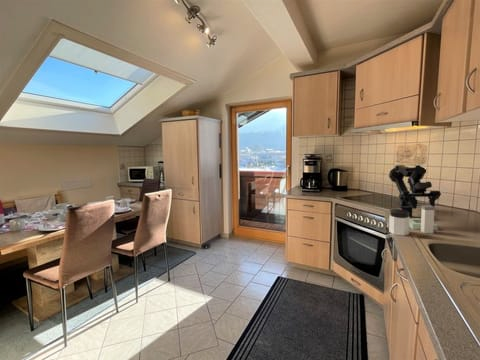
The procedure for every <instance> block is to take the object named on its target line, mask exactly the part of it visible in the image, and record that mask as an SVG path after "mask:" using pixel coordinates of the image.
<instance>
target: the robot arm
mask: <svg viewBox="0 0 480 360" xmlns="http://www.w3.org/2000/svg"><path fill="white" fill-rule="evenodd" d="M425 174H427V169H425V168H424V167H423V166H421V165H420V164H419V165H415V166H414V167H409V166H405V165H403V164H399V165H398V164H397V165H395V166H394V167H393V168H392V169H391V170H390V171H389V173H388V177H389V179H390V181H391V182H393V183H394V184H395V186H396V187H397V190H398V192H399V194H398V198H399V201H398V203H397V205H398V206H397V207H398V209H401V210H406V211H408V212H409V217H410V218H415V217H414V216H413V209H415V210H416V209H417V207H418V199H417V198H428V202H429V205H431V206H433V207H435V204H436V201H437V200H439V198H440V196H441V195H442V193H441V191H440V190H430V191H429V192H428V193H427V189H430V188H432V185H433V184H432V181H426V182H422V181H421V180H423V178H424V176H425ZM404 178H407V184H408V185H409V190H408V188H407V186H406V183H405V181H404Z"/></svg>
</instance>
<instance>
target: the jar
mask: <svg viewBox="0 0 480 360" xmlns="http://www.w3.org/2000/svg"><path fill="white" fill-rule="evenodd" d="M388 218H389V220H388V221H389V222H388V230H389V231H388V232H389V233H391V234H392V235H396V236H403V237H404V236H407V235H409V234H410V227H409V223H410V217H409V212H408V211H406V210H402V209H401V208H397V209H396V208H393V209H390V214H389V217H388Z"/></svg>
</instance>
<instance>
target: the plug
mask: <svg viewBox="0 0 480 360" xmlns="http://www.w3.org/2000/svg"><path fill="white" fill-rule="evenodd" d="M435 207H436V206H434V207H433V206H431V205H430V204H429V205H426V204H425V205H424V204H423V205H421V214H420V215H421V216H420V218H421V230H420V231H421V232H422V233H424V234H434V230H433V226H434V223H435V221H434V220H435V211H436V210H435V209H436V208H435Z"/></svg>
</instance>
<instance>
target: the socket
mask: <svg viewBox="0 0 480 360" xmlns="http://www.w3.org/2000/svg"><path fill="white" fill-rule="evenodd" d="M438 228H439V227H438V224H437V223H435V222H434V226H433V231H438ZM409 229H411V230H416V231H417V230H419V231H421V217H420V218H419V217H418V218H416V217H414V218H410V223H409Z"/></svg>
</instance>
